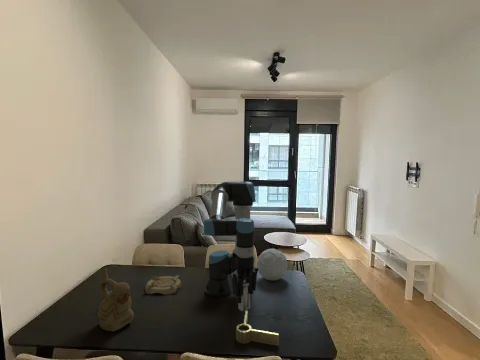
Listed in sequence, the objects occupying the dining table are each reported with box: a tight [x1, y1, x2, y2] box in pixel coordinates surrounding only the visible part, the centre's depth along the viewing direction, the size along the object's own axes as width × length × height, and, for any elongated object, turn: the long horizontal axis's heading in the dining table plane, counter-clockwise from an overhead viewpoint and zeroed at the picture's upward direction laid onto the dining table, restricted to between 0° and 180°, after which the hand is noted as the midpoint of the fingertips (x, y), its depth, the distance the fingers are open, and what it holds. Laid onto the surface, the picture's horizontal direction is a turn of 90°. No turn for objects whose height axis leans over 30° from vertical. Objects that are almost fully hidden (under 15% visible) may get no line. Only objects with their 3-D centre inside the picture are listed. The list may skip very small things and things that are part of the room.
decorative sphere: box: [256, 248, 289, 282], centre depth 195 cm, size 20×20×20 cm
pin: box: [242, 279, 249, 312], centre depth 130 cm, size 4×4×12 cm
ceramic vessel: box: [96, 268, 135, 333], centre depth 141 cm, size 17×20×25 cm
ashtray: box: [144, 274, 183, 296], centre depth 182 cm, size 24×24×5 cm
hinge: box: [235, 310, 279, 347], centre depth 134 cm, size 21×18×5 cm
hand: (244, 308), depth 130 cm, fingers closed on pin, 3 cm apart
